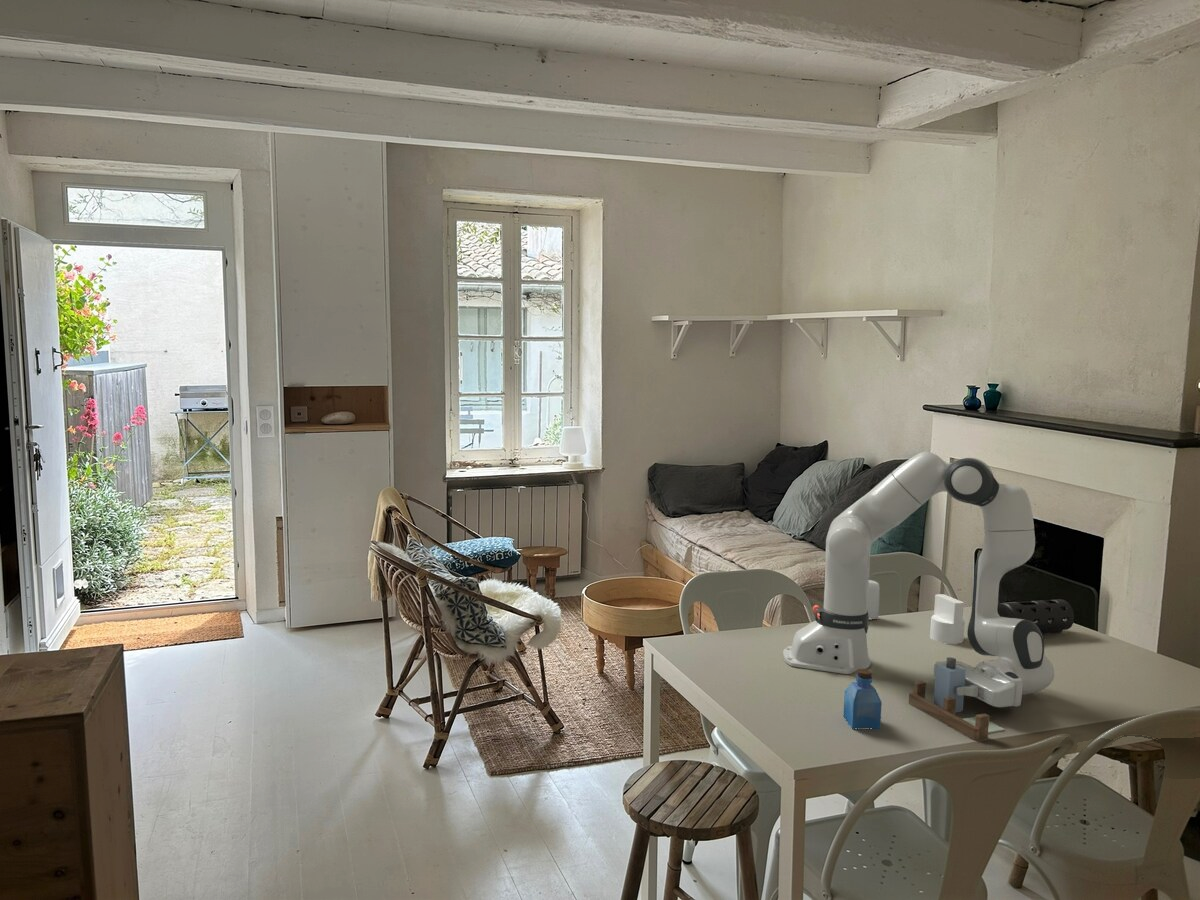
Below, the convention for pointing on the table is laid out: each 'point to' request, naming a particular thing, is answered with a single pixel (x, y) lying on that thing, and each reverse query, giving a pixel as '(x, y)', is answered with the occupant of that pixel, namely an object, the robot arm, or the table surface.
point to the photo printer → (873, 599)
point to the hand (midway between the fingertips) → (946, 686)
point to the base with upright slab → (947, 620)
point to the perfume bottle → (862, 702)
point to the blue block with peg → (949, 683)
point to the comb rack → (952, 714)
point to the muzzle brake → (1040, 613)
